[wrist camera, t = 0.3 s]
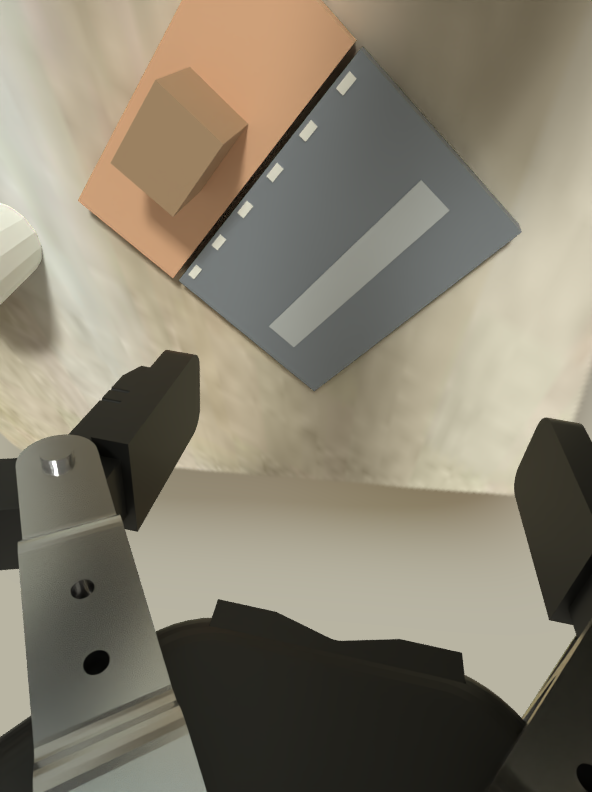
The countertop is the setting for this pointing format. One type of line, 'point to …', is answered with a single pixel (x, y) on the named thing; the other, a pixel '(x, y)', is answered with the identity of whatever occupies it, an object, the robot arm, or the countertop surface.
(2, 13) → the countertop surface
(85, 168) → the countertop surface
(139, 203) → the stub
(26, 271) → the shot glass
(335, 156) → the board
